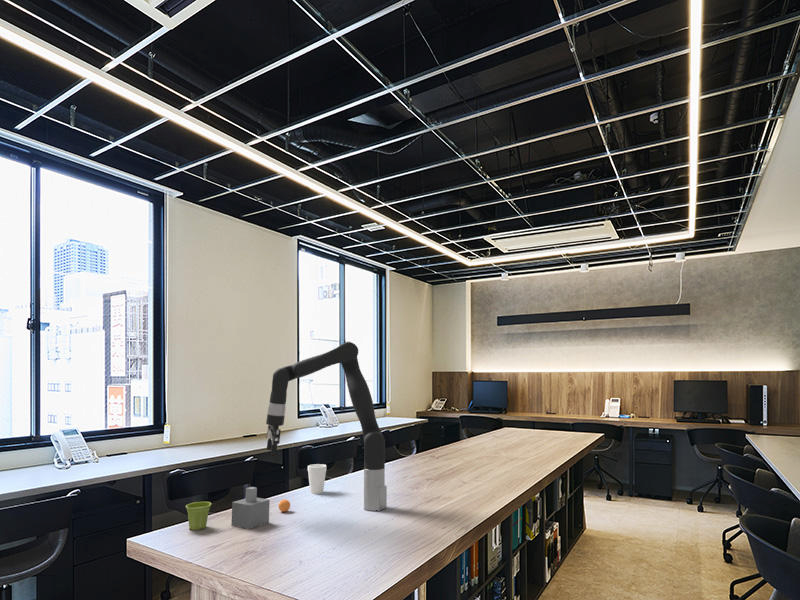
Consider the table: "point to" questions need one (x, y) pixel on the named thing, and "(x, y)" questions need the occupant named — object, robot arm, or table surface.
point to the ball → (284, 505)
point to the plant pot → (198, 514)
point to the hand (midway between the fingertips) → (271, 451)
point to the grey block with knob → (250, 510)
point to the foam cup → (316, 478)
